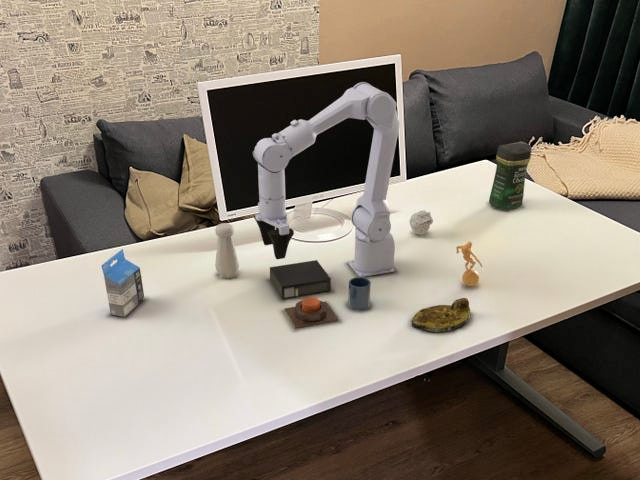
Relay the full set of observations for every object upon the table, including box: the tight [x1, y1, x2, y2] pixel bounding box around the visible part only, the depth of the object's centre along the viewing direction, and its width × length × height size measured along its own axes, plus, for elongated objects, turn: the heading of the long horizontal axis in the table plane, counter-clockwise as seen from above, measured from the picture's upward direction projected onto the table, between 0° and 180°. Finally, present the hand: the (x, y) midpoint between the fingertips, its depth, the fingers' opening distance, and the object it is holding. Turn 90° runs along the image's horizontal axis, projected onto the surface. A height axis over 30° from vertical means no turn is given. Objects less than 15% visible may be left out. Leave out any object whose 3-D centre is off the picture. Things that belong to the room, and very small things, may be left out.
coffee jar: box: [488, 141, 532, 211], centre depth 212 cm, size 10×8×19 cm
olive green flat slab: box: [411, 297, 471, 333], centre depth 162 cm, size 9×5×15 cm
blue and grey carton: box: [101, 248, 145, 318], centre depth 162 cm, size 9×4×12 cm, turn 163°
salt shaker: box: [214, 222, 240, 279], centre depth 175 cm, size 6×6×13 cm
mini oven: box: [269, 259, 332, 301], centre depth 174 cm, size 12×11×4 cm
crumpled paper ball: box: [409, 209, 434, 236], centre depth 198 cm, size 6×7×7 cm
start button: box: [301, 296, 321, 312], centre depth 162 cm, size 4×4×2 cm
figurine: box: [456, 241, 483, 287], centre depth 173 cm, size 8×6×12 cm
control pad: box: [283, 299, 339, 330], centre depth 163 cm, size 10×8×2 cm
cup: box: [347, 276, 372, 311], centre depth 166 cm, size 5×5×6 cm
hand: (274, 251), depth 168 cm, fingers open, 7 cm apart
